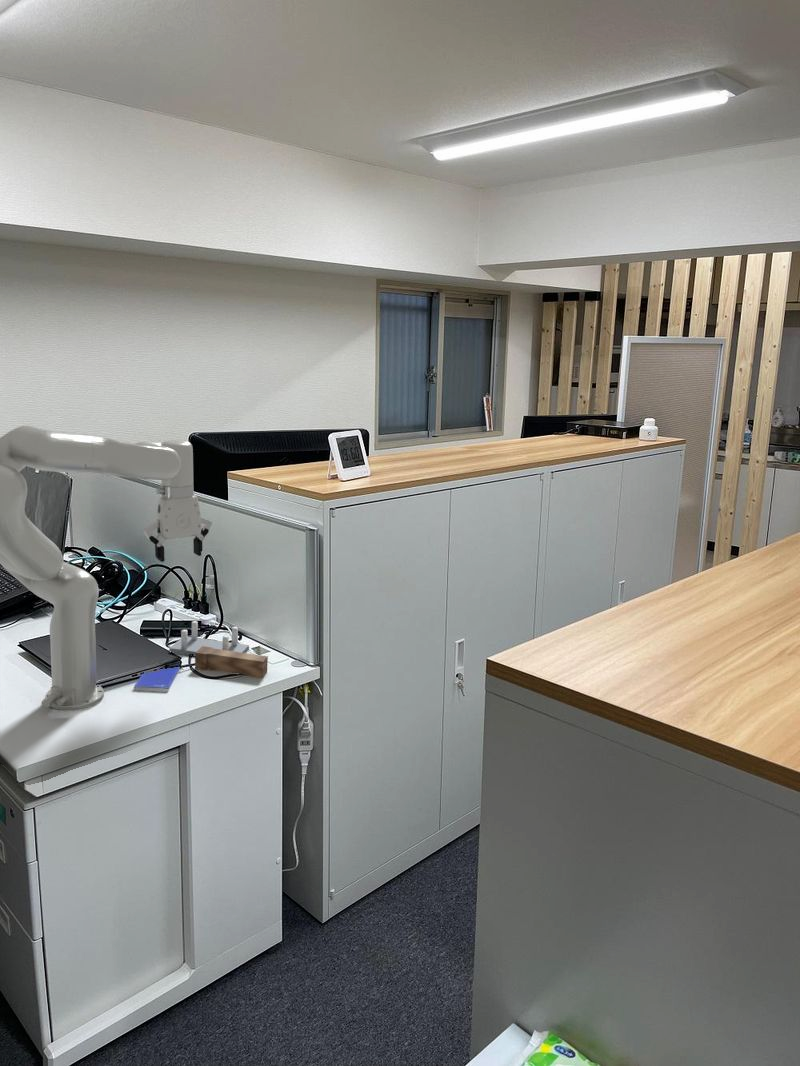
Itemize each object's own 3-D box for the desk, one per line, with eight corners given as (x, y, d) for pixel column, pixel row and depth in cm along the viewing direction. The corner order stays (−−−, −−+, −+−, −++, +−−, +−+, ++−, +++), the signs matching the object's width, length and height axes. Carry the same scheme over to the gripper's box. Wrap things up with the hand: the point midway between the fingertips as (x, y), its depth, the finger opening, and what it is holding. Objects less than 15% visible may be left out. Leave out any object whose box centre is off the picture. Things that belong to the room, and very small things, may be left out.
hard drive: (168, 687, 190) (180, 666, 202) (133, 685, 189) (147, 664, 201) (168, 693, 190) (179, 671, 202) (133, 691, 190) (147, 670, 202)
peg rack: (248, 649, 217) (249, 628, 216) (236, 662, 209) (237, 640, 207) (183, 639, 220) (183, 619, 219) (169, 652, 212) (169, 630, 210)
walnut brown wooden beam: (267, 671, 205) (268, 655, 204) (262, 678, 201) (262, 662, 199) (202, 661, 207) (202, 646, 206) (195, 668, 203) (195, 652, 202)
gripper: (149, 498, 186) (151, 567, 190) (217, 490, 196) (217, 556, 201) (137, 491, 191) (139, 558, 196) (204, 484, 202) (205, 548, 207)
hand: (179, 557), depth 199 cm, fingers open, 9 cm apart
